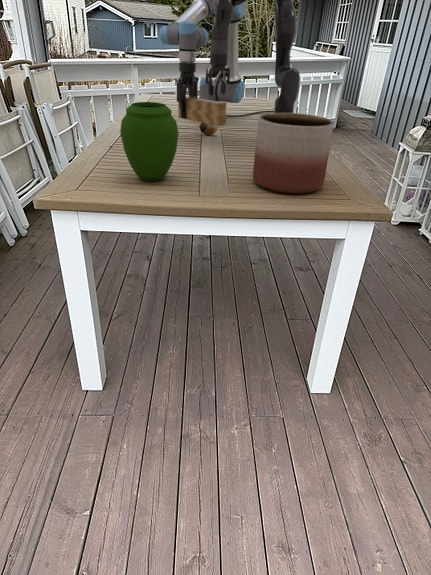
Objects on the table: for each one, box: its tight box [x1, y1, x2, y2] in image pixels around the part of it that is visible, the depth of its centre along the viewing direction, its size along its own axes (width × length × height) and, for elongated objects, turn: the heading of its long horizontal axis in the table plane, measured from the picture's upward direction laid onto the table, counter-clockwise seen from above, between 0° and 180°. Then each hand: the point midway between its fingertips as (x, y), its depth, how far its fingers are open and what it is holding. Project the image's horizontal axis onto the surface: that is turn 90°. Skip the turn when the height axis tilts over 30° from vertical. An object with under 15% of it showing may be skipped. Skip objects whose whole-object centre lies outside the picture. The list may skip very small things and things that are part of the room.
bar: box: [177, 95, 227, 127], centre depth 190 cm, size 25×5×9 cm, turn 52°
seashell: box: [198, 122, 219, 136], centre depth 209 cm, size 10×6×8 cm, turn 97°
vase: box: [119, 101, 179, 182], centre depth 140 cm, size 20×20×24 cm
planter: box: [252, 112, 335, 194], centre depth 142 cm, size 25×25×22 cm
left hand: (187, 117), depth 196 cm, fingers closed on bar, 5 cm apart
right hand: (217, 94), depth 181 cm, fingers open, 8 cm apart
